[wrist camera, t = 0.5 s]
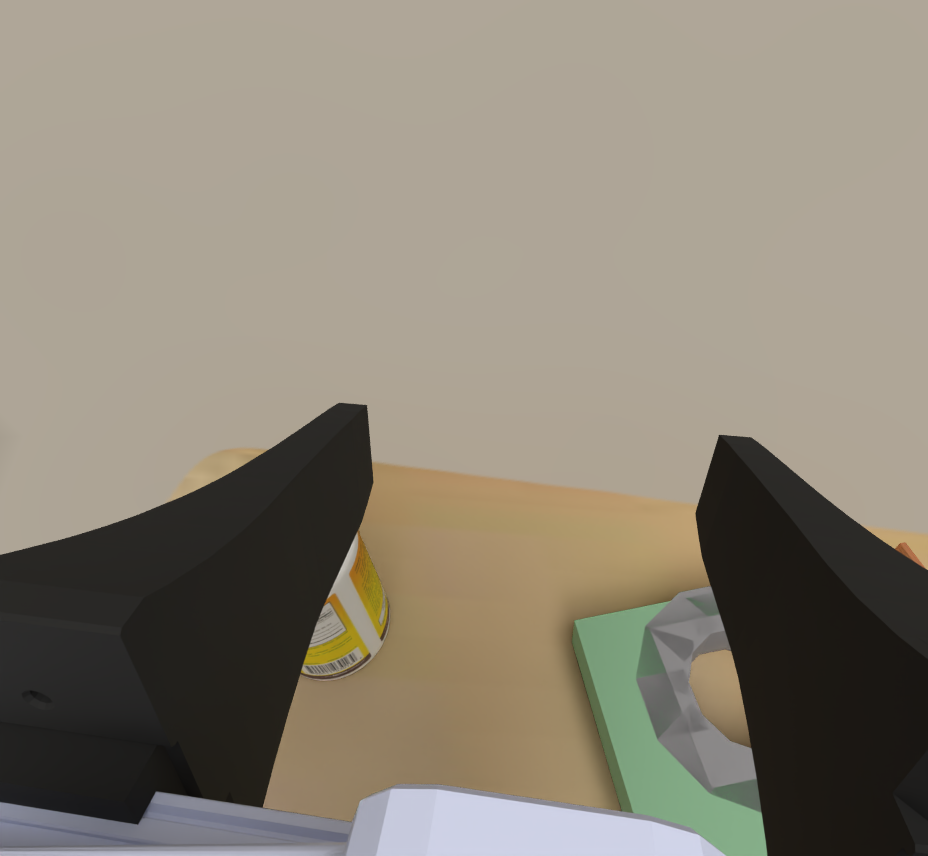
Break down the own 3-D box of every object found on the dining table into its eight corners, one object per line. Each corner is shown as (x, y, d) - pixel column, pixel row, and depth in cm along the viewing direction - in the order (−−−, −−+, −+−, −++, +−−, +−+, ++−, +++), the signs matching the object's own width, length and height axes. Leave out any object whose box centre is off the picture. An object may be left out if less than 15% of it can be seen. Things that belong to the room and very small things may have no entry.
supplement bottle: (338, 556, 32) (276, 431, 24) (415, 615, 29) (373, 496, 22) (256, 638, 29) (158, 528, 21) (333, 712, 26) (252, 616, 19)
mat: (1091, 1037, 18) (1152, 1047, 16) (715, 1129, 18) (736, 1150, 16) (814, 585, 28) (833, 561, 27) (570, 635, 28) (572, 614, 26)
